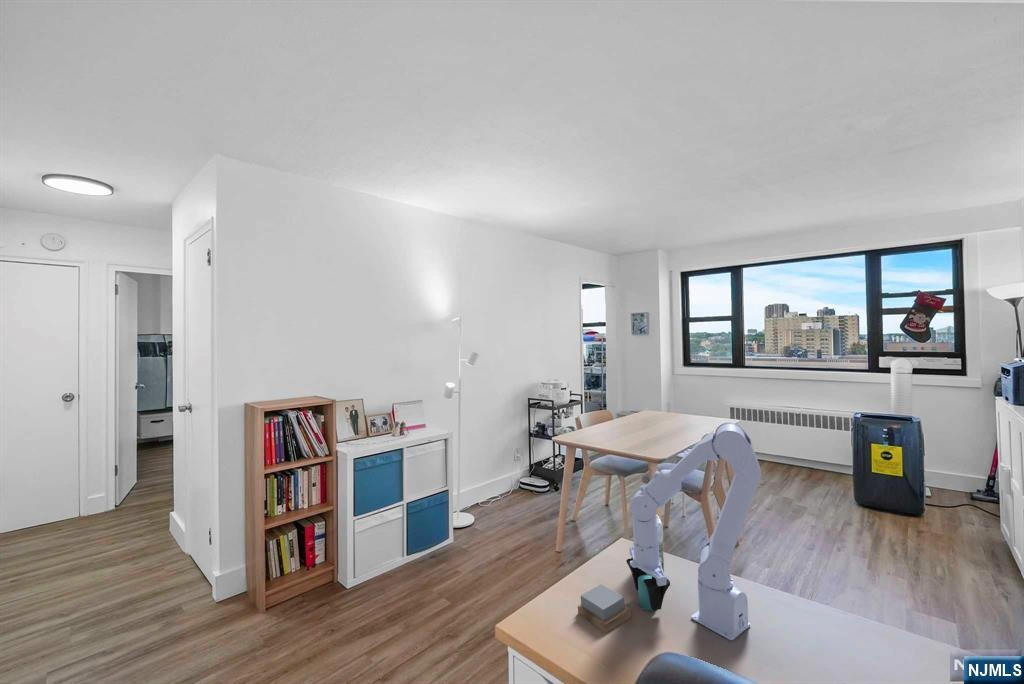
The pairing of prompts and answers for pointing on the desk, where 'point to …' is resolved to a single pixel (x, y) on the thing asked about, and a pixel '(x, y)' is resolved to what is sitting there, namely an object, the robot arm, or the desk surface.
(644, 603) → the teal capsule
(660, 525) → the syrup box
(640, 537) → the robot arm
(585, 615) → the walnut slab
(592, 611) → the grey slab
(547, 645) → the desk surface
